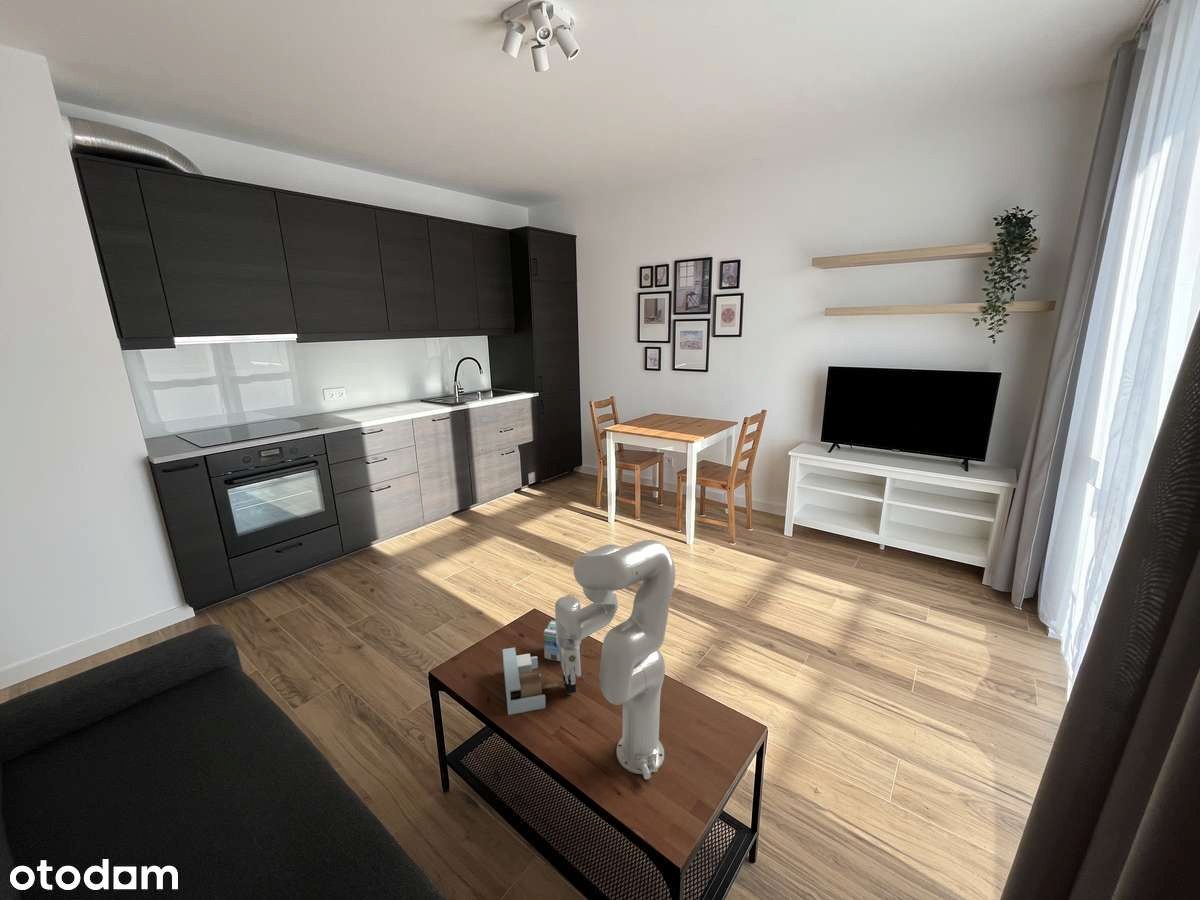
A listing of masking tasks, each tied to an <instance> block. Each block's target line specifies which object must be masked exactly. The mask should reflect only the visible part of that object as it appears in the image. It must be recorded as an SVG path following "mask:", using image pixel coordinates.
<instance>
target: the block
mask: <svg viewBox="0 0 1200 900" xmlns="http://www.w3.org/2000/svg"><path fill="white" fill-rule="evenodd" d="M531 657H532V656H531V653H525V654H524V653H523V654H519V655H517V654H516V658H517V665H518V672H519V675H523V674H528V673H533V669H532V663H531Z"/></svg>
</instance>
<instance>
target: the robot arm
mask: <svg viewBox="0 0 1200 900" xmlns="http://www.w3.org/2000/svg"><path fill="white" fill-rule="evenodd" d="M573 576H574V579H575V581H576V583H577V584H578V585H579V586H580V587H581V588H582V591H583V593H584V596H585V597H586V598H587V599H588V600H589V602H592V603H590V604H589V605H586V606H584V607H582V608H581V602H580V600H579V599H578V598H577V597H575V596H572V595H565V596H562V597H560V598H558V599H557V600H556V602H555V605H554V612H555V613H554V615H555V618H554V621H556V644H557V645H558V646H559V648H560V661H561V662H560V661H559V662H560V665H561V667H562V669H561V670H562V672H563V674H562V682H563V681H565V678H566V682H565V685H563V687H564V688H565V690H564V691H565V695H568V694H570V693H573V694H574V693H576V692H577V681H576V677H577V678H579V677H581V676H582V671H581V670H582V669H581V655H580V645H581V643H582V640H584V639H586V638H587V637H589V636H591V635H592V634H594V633H596V632H598V631H600V630H602V629H604V628H607V626H608V625H610V624H611V622H612V621H613V619H614V617H615V615H616V613H617V611H618V607H619V602H618V597H617V594H616V592H617V591H621V590H624V589H627V588H629V587H631V586H633V585H635V584H637V583H639V582H641V584H640V586H638V588H637V590H636V593H635V596H634V599H633V602H632V603H633V604H632V605H633V606H632V611H631V614H630V616H629V617H628V618H626V620H624V621H623V622H621V623H619V624H617V625H616V626H614V627H612V628H611V629H609V630H608V632H606V635H605V636H604V638H603V640H602V647H601V656H600V657H601V658H600V666H599V686H600V689H601V693H602V694H603V696H604V698H605V699H606V701H608V702H609V703H611V704H612V705H616V706H617V705H622V737H621V738H620V739H619V740H618V743H617V745H616V757H617V761H618V763H619V764H620V765H621V766H622V767H623V769H624V770H627V771H628V772H630V773H633V774H635V775H636V774H638V775H642V776H643V779H644V780H649V779H651V777H652V773H657V772H658V770H659V768H660V767H661V766H662V765H663V762H664V759H665V749H664V746H663V744H662V742H661V741H660V740H659V739H660V714H661V713H660V710H661V709H660V707H661V694H662V693H661V691H662V688H663V687H662V686H663V682H664V678H665V673H666V663H665V660H664V656H663V653H662V652H661V651H660V650H659V649H660V648H661V647H662V645H663V644H664V641H665V636H666V630H667V629H666V628H667V625H668V623H667V622H668V617H669V609H670V603H671V600H672V596H673V593H674V589H675V583H676V568H675V563H674V559H673V557H672V554H671V553H670V551H669V549H668V548H667V547H666V546H665V545H664V543H662V542H661V541H658V540H655V539H645V540H641V541H638V542H635V543H632V544H631V545H628V546H626V547H621V546H619V545H617V544H613V543H612V544H605V545H602V546H599V547H596V548H594V549H592V550H590V551H589V550H588V551H587V552H584V553H582V554H580V555H579V556H578V557H577V558H576V559H575V562H574V564H573ZM568 677H570V679H568Z"/></svg>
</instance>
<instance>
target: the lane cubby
mask: <svg viewBox="0 0 1200 900" xmlns="http://www.w3.org/2000/svg"><path fill="white" fill-rule="evenodd" d="M516 656H517V652H516V647H510V648H503V649H502V658H503V659H502V662H503V663H502V664H503V675H504V685H505V697H506V698H505V699H506V706H507V707H506V708H507V716H510V715H515V714H521V713H526V712H533V711H536V710H541V709H546V708H547V707H546V706H547V705H546V695H545V694H542V695H538V696H532V697H527V698H521V697H520V698H517V699H516V698H515V699H511V696H512V695H511V693H515V692H520V689H521V687H520V679H519V672H518V665H517V658H516ZM530 657H531V663H532V670H535V669H536V670H537V669H538V668H539V664H538V663H539V662H538V656H536V655H535V656H530ZM539 675H540V680H541V681H542V674H541V673H539Z"/></svg>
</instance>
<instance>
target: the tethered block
mask: <svg viewBox="0 0 1200 900" xmlns="http://www.w3.org/2000/svg"><path fill="white" fill-rule="evenodd" d="M539 674H540V672H539V671H535V672H532V673H528V674H523V675H519V679H520V687H521V689H520V691H519V695H520V699H521V698H527V697H532V696H538V695H543V694H542V693H543V692H542V690H543V689H549V688H555V687H559V686H560V687H561V686H564V685H565V682H566V678H565V681H563V680H562V681H559V682H552V683H547V684H542V679H541V680H540V675H539ZM568 679H570V677H568ZM573 694H574V693H570V694H567V695H569V696H570V695H573Z"/></svg>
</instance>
